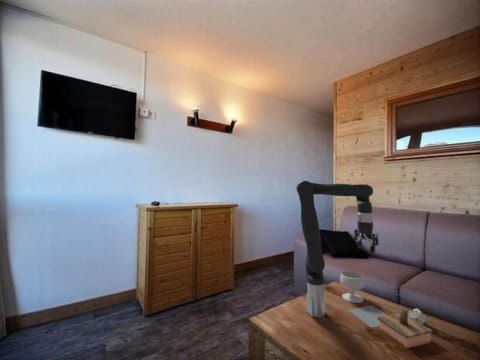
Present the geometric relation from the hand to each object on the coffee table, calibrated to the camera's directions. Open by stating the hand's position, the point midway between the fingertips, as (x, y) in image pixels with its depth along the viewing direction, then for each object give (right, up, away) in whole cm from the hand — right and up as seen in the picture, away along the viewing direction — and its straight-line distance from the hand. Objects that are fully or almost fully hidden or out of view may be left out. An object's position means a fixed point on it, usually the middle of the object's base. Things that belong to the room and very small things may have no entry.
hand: (366, 250), depth 122 cm
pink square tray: (+9, -36, -15) cm, 40 cm away
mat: (+3, -36, +1) cm, 36 cm away
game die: (+22, -36, -8) cm, 43 cm away
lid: (+9, -31, -15) cm, 36 cm away
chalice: (+3, -37, +20) cm, 42 cm away
